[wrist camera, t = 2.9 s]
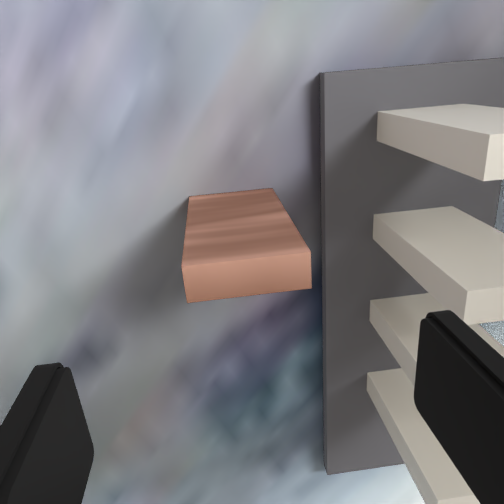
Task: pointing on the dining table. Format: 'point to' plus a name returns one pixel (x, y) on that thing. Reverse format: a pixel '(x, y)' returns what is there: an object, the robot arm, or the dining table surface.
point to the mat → (361, 230)
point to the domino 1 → (242, 247)
